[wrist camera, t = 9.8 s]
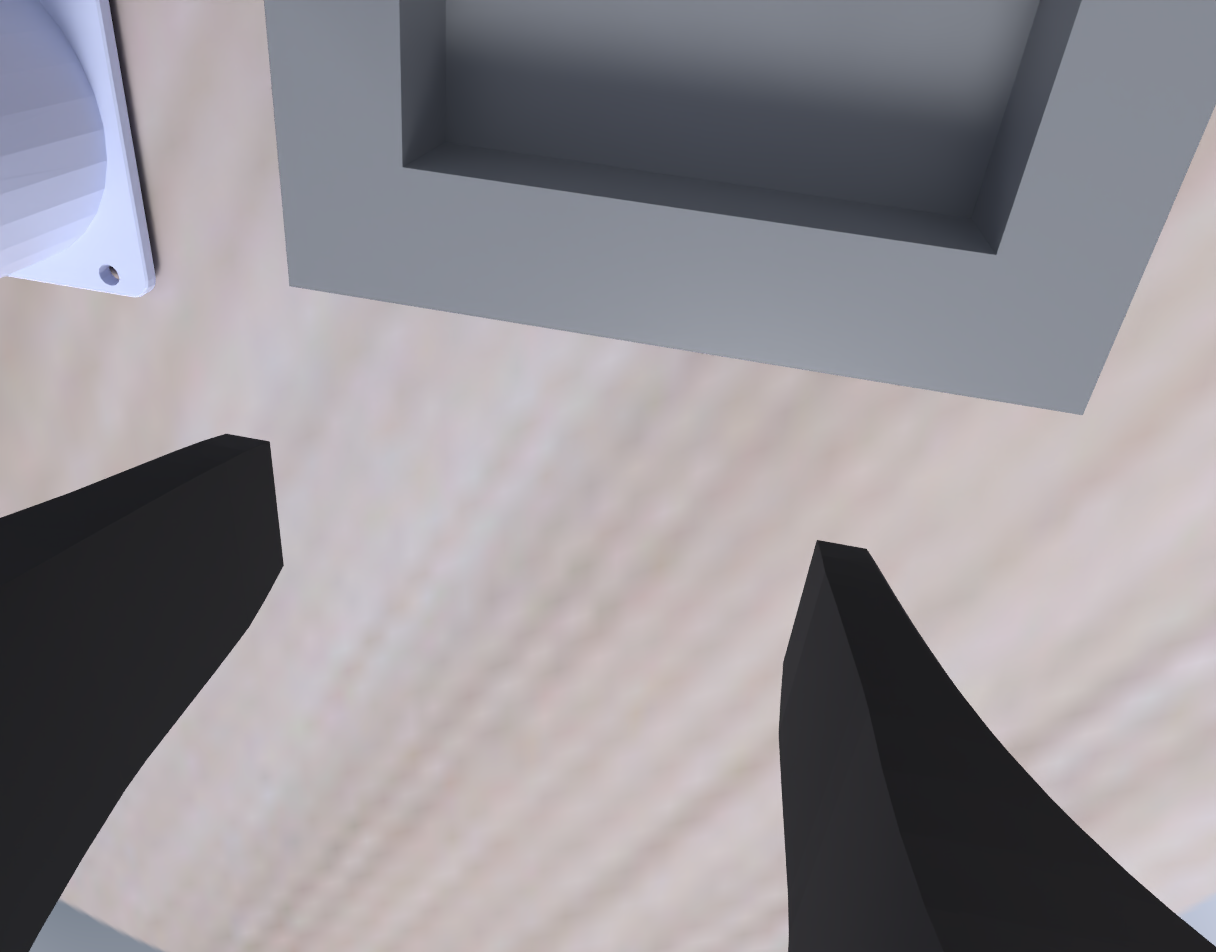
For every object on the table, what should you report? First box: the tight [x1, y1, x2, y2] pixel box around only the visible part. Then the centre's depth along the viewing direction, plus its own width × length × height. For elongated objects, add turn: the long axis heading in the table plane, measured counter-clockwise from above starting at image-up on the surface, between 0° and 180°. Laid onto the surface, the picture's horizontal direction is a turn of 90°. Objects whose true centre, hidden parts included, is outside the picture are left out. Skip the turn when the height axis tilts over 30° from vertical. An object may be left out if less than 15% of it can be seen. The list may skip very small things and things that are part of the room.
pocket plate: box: [264, 0, 1216, 415], centre depth 16 cm, size 16×12×3 cm
